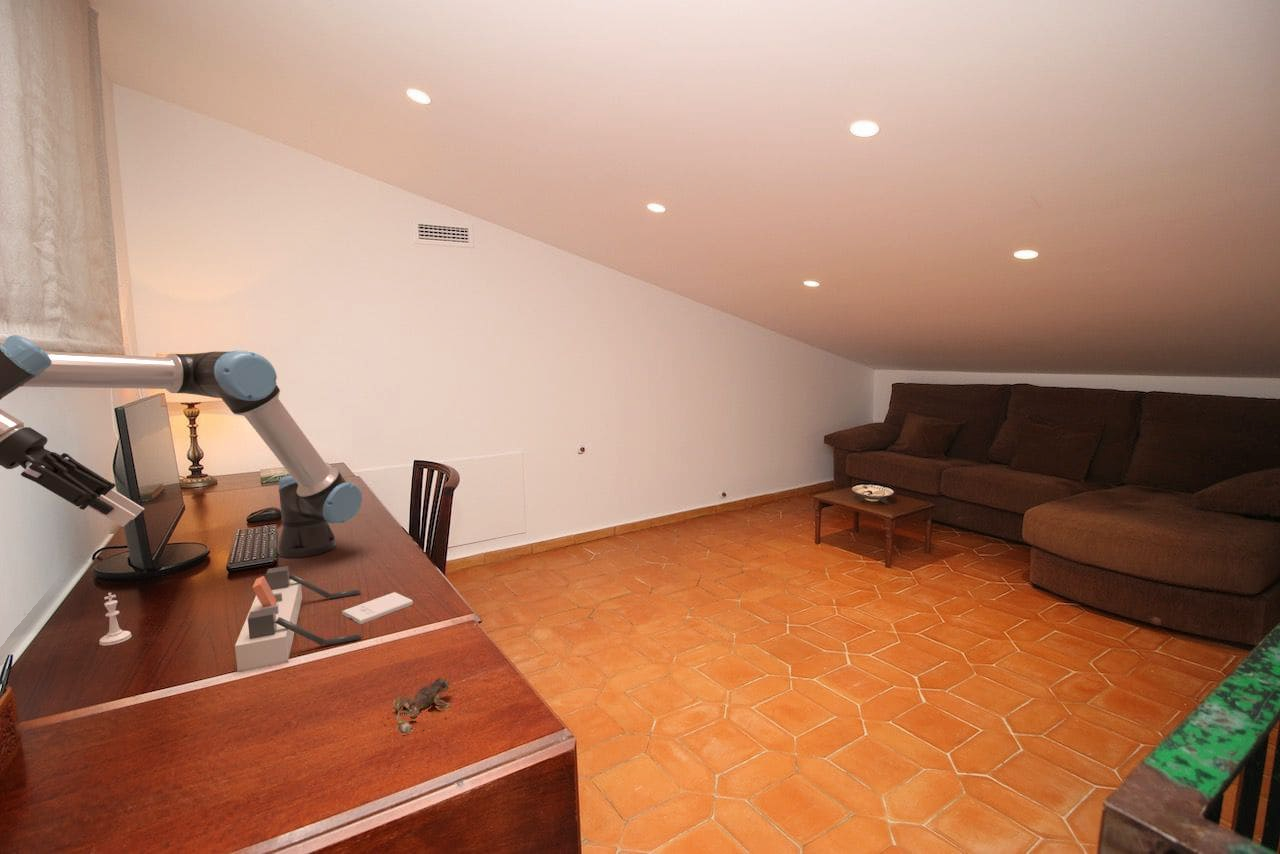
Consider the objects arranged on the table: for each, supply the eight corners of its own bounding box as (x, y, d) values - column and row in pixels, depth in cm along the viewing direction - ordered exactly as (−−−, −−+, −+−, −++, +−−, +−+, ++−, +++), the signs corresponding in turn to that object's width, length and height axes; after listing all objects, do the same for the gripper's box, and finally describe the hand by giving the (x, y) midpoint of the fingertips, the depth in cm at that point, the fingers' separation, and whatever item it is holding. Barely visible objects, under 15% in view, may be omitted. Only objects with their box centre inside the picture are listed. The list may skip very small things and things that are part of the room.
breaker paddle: (265, 612, 119) (252, 587, 118) (268, 603, 124) (256, 579, 122) (273, 608, 120) (260, 584, 118) (276, 599, 124) (263, 575, 123)
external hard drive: (413, 606, 135) (360, 626, 125) (394, 597, 140) (342, 616, 130) (413, 600, 135) (360, 619, 125) (393, 591, 140) (341, 609, 130)
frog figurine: (432, 683, 103) (430, 663, 103) (471, 709, 96) (470, 687, 95) (368, 714, 94) (366, 692, 94) (406, 745, 87) (404, 722, 86)
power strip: (237, 671, 107) (232, 625, 105) (262, 604, 135) (259, 567, 134) (361, 646, 115) (358, 603, 114) (360, 588, 144) (358, 553, 143)
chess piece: (98, 640, 119) (92, 593, 118) (129, 631, 122) (124, 586, 121) (100, 648, 116) (94, 600, 114) (133, 639, 119) (127, 592, 118)
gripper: (14, 449, 112) (133, 521, 121) (-42, 464, 96) (100, 545, 105) (47, 420, 113) (162, 493, 123) (-3, 431, 98) (134, 513, 107)
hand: (133, 517), depth 114 cm, fingers open, 4 cm apart
